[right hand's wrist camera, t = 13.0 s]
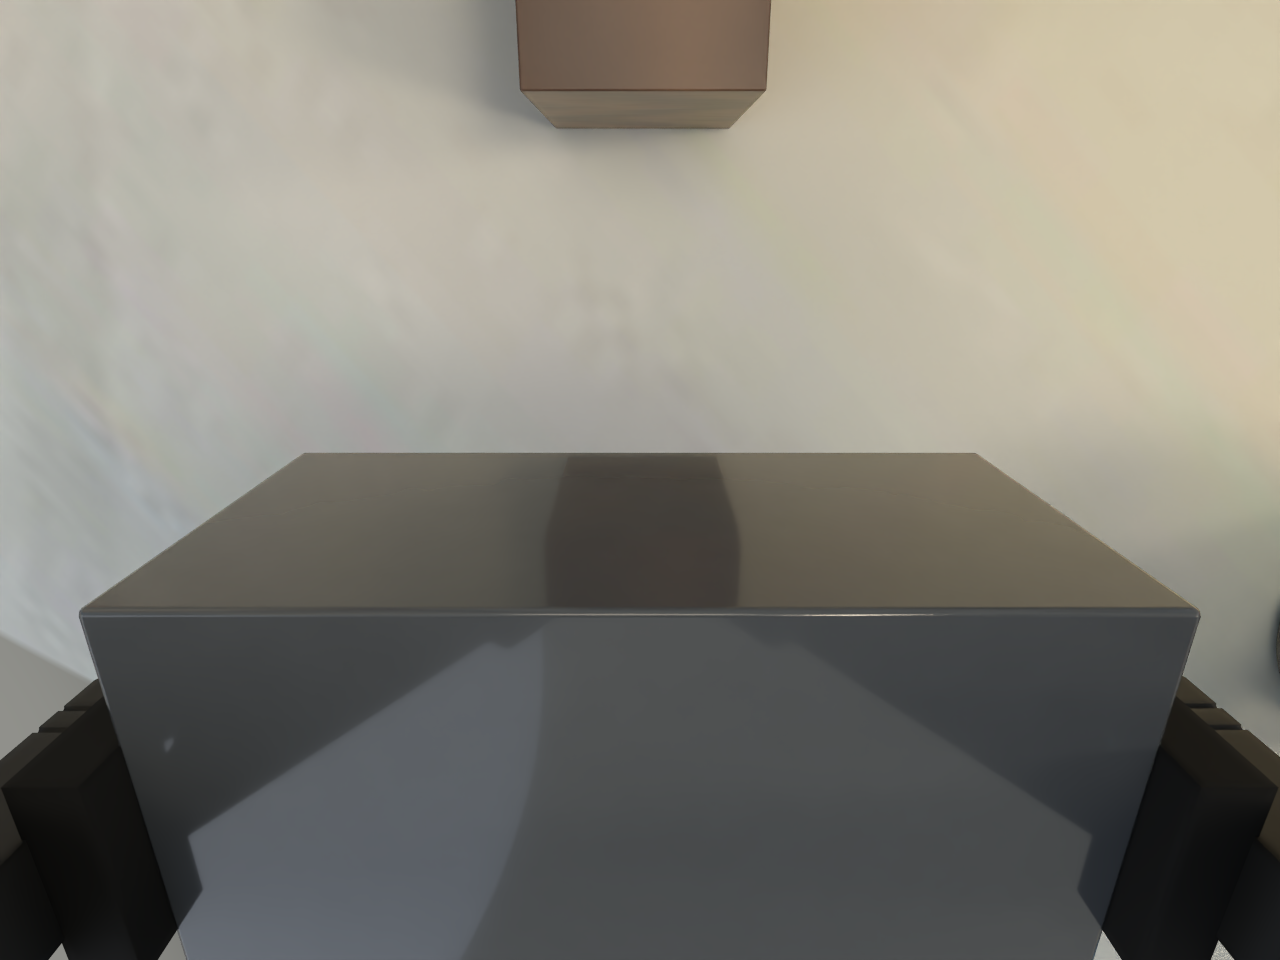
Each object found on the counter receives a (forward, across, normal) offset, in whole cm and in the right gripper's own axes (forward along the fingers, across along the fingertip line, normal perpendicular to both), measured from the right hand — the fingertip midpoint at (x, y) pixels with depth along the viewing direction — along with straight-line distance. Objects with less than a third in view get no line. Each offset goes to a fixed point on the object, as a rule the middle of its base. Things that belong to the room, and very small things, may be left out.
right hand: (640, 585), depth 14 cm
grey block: (-1, 0, 0) cm, 1 cm away
